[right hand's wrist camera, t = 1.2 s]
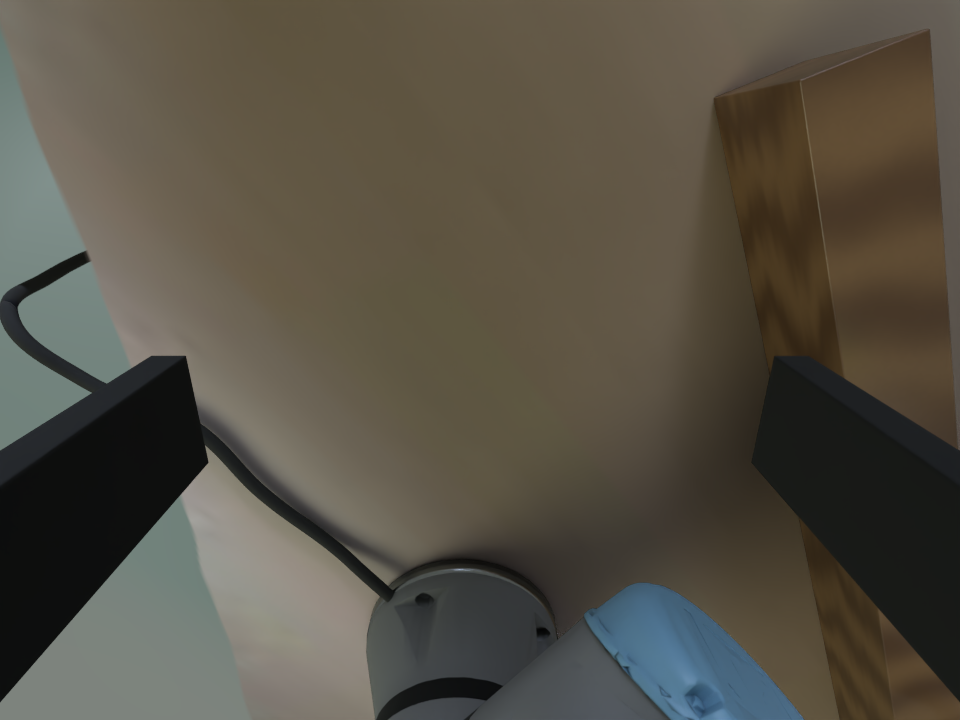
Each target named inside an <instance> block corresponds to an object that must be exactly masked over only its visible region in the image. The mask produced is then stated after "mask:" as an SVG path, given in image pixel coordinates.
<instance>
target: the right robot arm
mask: <svg viewBox="0 0 960 720" xmlns="http://www.w3.org/2000/svg"><path fill="white" fill-rule="evenodd" d="M208 463H209V462H208V458H207V453H206V448H205V444H204V439H203V434H202V430H201V425H200V420H199V416H198V411H197V406H196V401H195V397H194V392H193V387H192V383H191V378H190V373H189V369H188V364H187V359H186V356H151V357H149V358H147V359H146V360H144V361H143V362H141V363H139V364H138V365H136V366H135V367H133V368H131V369H130V370H128V371H127V372H125V373H123V374H122V375H120V376H119V377H117V378H115V379H114V380H112V381H111V382H109V383H108V384H106V385H104V386H103V387H101V388H100V389H98V390H96V391H95V392H93V393H92V394H90V395H88V396H87V397H85V398H84V399H82V400H80V401H79V402H77V403H76V404H74V405H72V406H71V407H69V408H68V409H66V410H64V411H63V412H61V413H60V414H58V415H56V416H55V417H53V418H52V419H50V420H49V421H47V422H45V423H44V424H42V425H41V426H39V427H37V428H36V429H34V430H33V431H31V432H29V433H28V434H26V435H25V436H23V437H21V438H20V439H18V440H17V441H15V442H13V443H12V444H10V445H9V446H7V447H5V448H4V449H2V450H1V451H0V702H1V701H2V699H3V698H4V697H5V696H6V695H7V694H8V693H9V692H10V690H11V689H12V688H13V687H14V686H15V685H16V683H17V682H18V681H19V680H20V679H21V678H22V677H23V675H24V674H25V673H26V672H27V671H28V670H29V668H30V667H31V666H32V665H33V664H34V663H35V662H36V660H37V659H38V658H39V657H40V656H41V655H42V654H43V652H44V651H45V650H46V649H47V648H48V647H49V645H50V644H51V643H52V642H53V641H54V640H55V639H56V637H57V636H58V635H59V634H60V633H61V632H62V631H63V629H64V628H65V627H66V626H67V625H68V624H69V622H70V621H71V620H72V619H73V618H74V617H75V616H76V614H77V613H78V612H79V611H80V610H81V609H82V608H83V606H84V605H85V604H86V603H87V602H88V601H89V599H90V598H91V597H92V596H93V595H94V594H95V592H96V591H97V590H98V589H99V588H100V587H101V586H102V585H103V583H104V582H105V581H106V580H107V579H108V578H109V576H110V575H111V574H112V573H113V572H114V571H115V570H116V568H117V567H118V566H119V565H120V564H121V563H122V561H123V560H124V559H125V558H126V557H127V556H128V555H129V553H130V552H131V551H132V550H133V549H134V548H135V547H136V545H137V544H138V543H139V542H140V541H141V540H142V538H143V537H144V536H145V535H146V534H147V533H148V532H149V530H150V529H151V528H152V527H153V526H154V525H155V524H156V522H157V521H158V520H159V519H160V518H161V517H162V515H163V514H164V513H165V512H166V511H167V510H168V509H169V507H170V506H171V505H172V504H173V503H174V502H175V500H176V499H177V498H178V497H179V496H180V495H181V494H182V492H183V491H184V490H185V489H186V488H187V487H188V486H189V484H190V483H191V482H192V481H193V480H194V479H195V477H196V476H197V475H198V474H199V473H200V472H201V471H202V469H203V468H204V467H205V466H206V465H207V464H208ZM751 463H752V464H753V465H754V466H755V467H756V468H757V469H758V471H759V472H760V473H761V474H762V475H763V476H764V477H765V479H766V480H767V481H768V482H769V483H770V484H771V486H772V487H773V488H774V489H775V490H776V491H777V492H778V494H779V495H780V496H781V497H782V498H783V499H784V500H785V502H786V503H787V504H788V505H789V506H790V507H791V509H792V510H793V511H794V512H795V513H796V514H797V515H798V517H799V518H800V519H801V520H802V521H803V522H804V524H805V525H806V526H807V527H808V528H809V529H810V530H811V532H812V533H813V534H814V535H815V536H816V537H817V538H818V540H819V541H820V542H821V543H822V544H823V545H824V547H825V548H826V549H827V550H828V551H829V552H830V553H831V555H832V556H833V557H834V558H835V559H836V560H837V561H838V563H839V564H840V565H841V566H842V567H843V568H844V570H845V571H846V572H847V573H848V574H849V575H850V576H851V578H852V579H853V580H854V581H855V582H856V583H857V584H858V586H859V587H860V588H861V589H862V590H863V591H864V593H865V594H866V595H867V596H868V597H869V598H870V599H871V601H872V602H873V603H874V604H875V605H876V606H877V608H878V609H879V610H880V611H881V612H882V613H883V614H884V616H885V617H886V618H887V619H888V620H889V621H890V622H891V624H892V625H893V626H894V627H895V628H896V629H897V631H898V632H899V633H900V634H901V635H902V636H903V637H904V639H905V640H906V641H907V642H908V643H909V644H910V645H911V647H912V648H913V649H914V650H915V651H916V652H917V654H918V655H919V656H920V657H921V658H922V659H923V660H924V662H925V663H926V664H927V665H928V666H929V667H930V669H931V670H932V671H933V672H934V673H935V674H936V675H937V677H938V678H939V679H940V680H941V681H942V682H943V683H944V685H945V686H946V687H947V688H948V689H949V690H950V692H951V693H952V694H953V695H954V696H955V697H956V698H957V700H958V701H959V702H960V451H959V450H958V449H956V448H955V447H953V446H951V445H950V444H948V443H947V442H945V441H943V440H942V439H940V438H939V437H937V436H935V435H934V434H932V433H931V432H929V431H927V430H926V429H924V428H923V427H921V426H920V425H918V424H916V423H915V422H913V421H912V420H910V419H908V418H907V417H905V416H904V415H902V414H900V413H899V412H897V411H896V410H894V409H892V408H891V407H889V406H888V405H886V404H884V403H883V402H881V401H880V400H878V399H876V398H875V397H873V396H872V395H870V394H868V393H867V392H865V391H864V390H862V389H860V388H859V387H857V386H856V385H854V384H852V383H851V382H849V381H848V380H846V379H845V378H843V377H841V376H840V375H838V374H837V373H835V372H833V371H832V370H830V369H829V368H827V367H825V366H824V365H822V364H821V363H819V362H817V361H816V360H814V359H813V358H811V357H809V356H774V359H773V364H772V369H771V373H770V378H769V383H768V387H767V392H766V397H765V401H764V406H763V411H762V416H761V420H760V425H759V430H758V434H757V439H756V444H755V448H754V453H753V458H752V462H751Z"/></svg>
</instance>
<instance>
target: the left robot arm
mask: <svg viewBox="0 0 960 720" xmlns="http://www.w3.org/2000/svg"><path fill="white" fill-rule="evenodd" d="M89 262H91V261H90V258H89V256H88V253H87V251H84V252H81V253H79V254H77V255H75V256H72V257H70V258H68V259H66V260H64V261H62V262H60V263H58V264H57V265H55V266H53V267H51V268H49V269H48V270H46V271H44V272H42V273H41V274H39V275H37V276H35V277H33V278H31V279H29V280H27V281H25V282H23V283H21V284H19V285H17V286H15V287H13V288H11V289H10V290H9V291H7V292H6V293H5V295H3V297H2V299H1V302H0V320H1V323H2V325H3V327H4V329H5V331H6V332H7V334H8V335H9V336H10V338H11V339H12V340H13V341H14V342H15V343H16V344H17V345H18V346H19V347H20V348H21V349H22V350H24V351H25V352H26V353H27V354H29V355H30V356H31V357H33V358H34V359H36V360H37V361H39V362H40V363H42V364H43V365H45V366H46V367H48V368H50V369H51V370H53V371H55V372H57V373H58V374H60V375H62V376H63V377H65V378H67V379H69V380H70V381H72V382H74V383H76V384H77V385H79V386H81V387H83V388H84V389H86V390H88V391H90V392H92V393H93V392H95V391H96V390H98V389H100V388H101V387H103V386H104V385H106V383H104V382H102V381H100V380H98V379H96V378H95V377H93V376H91V375H89V374H88V373H86V372H84V371H83V370H81V369H79V368H78V367H76V366H74V365H72V364H71V363H69V362H67V361H66V360H64V359H62V358H61V357H59V356H57V355H56V354H54V353H53V352H51V351H50V350H48V349H47V348H45V347H44V346H43V345H41V344H40V343H39V342H38V341H37V340H35V339H34V338H33V337H32V336H31V335H30V334H29V333H28V331H27V330H26V329H25V327H24V326H23V324H22V322H21V320H20V318H19V314H18V306H19V304H20V303H21V301H22V300H24V299H25V298H26V297H28V296H29V295H31V294H33V293H35V292H37V291H39V290H41V289H43V288H45V287H47V286H48V285H50V284H52V283H53V282H55V281H57V280H58V279H60V278H61V277H63V276H65V275H66V274H68V273H69V272H71V271H73V270H75V269H77V268H79V267H81V266H83V265H85V264H86V263H89ZM200 425H201V430H202V434H203V439H204V444H205V445H206V446H207V447H208V448H209V449H210V450H211V451H212V452H213V453H214V454H215V455H216V456H217V457H218V458H219V459H220V460H221V461H222V462H223V463H224V464H225V465H226V466H227V467H228V469H229V470H230V471H231V472H232V473H233V474H234V475H235V476H236V477H237V478H238V480H239V481H240V482H241V483H242V484H243V485H244V486H245V487H246V488H247V489H248V490H249V491H250V492H252V493H253V494H254V495H255V496H256V497H257V498H258V499H259V500H261V501H262V502H263V503H264V504H266V505H267V506H268V507H269V508H271V509H272V510H273V511H275V512H276V513H277V514H279V515H280V516H281V517H283V518H284V519H285V520H287V521H288V522H290V523H291V524H292V525H294V526H295V527H297V528H298V529H300V530H301V531H303V532H304V533H305V534H307V535H308V536H310V537H311V538H312V539H314V540H315V541H317V542H318V543H319V544H321V545H322V546H323V547H324V548H326V549H327V550H328V551H330V552H331V553H332V554H333V555H334V556H336V557H337V558H338V559H339V560H340V561H341V562H343V563H344V564H345V565H346V566H347V567H348V568H349V569H350V570H351V571H352V572H353V573H354V574H355V575H357V576H358V577H359V578H360V579H361V580H362V581H363V582H364V583H365V584H367V585H368V586H369V587H370V588H371V589H372V590H373V591H375V592H376V593H377V594H378V595H379V596H380V597H379V599H378V601H377V602H376V604H375V607H374V609H373V612H372V615H371V619H370V624H369V628H368V633H367V649H366V653H367V662H368V670H369V677H370V684H371V692H372V699H373V706H374V714H375V720H804V719H803V717H802V716H801V715H800V713H799V712H798V711H797V710H796V708H795V707H794V706H793V705H792V703H791V702H790V701H789V700H788V699H787V697H786V696H785V695H784V694H783V693H782V691H781V690H780V689H779V688H778V687H777V685H776V684H775V683H774V682H773V681H772V680H771V679H770V677H769V676H768V675H767V674H766V673H765V672H764V671H763V670H762V668H761V667H760V666H759V665H758V664H757V663H756V662H755V661H754V660H753V659H752V658H751V657H750V656H749V655H748V654H747V652H746V651H745V650H744V649H743V648H742V647H741V646H740V645H739V644H738V643H737V642H736V641H735V640H734V639H733V638H732V637H731V636H730V635H729V634H728V633H726V632H725V631H724V630H723V629H722V628H721V627H720V626H719V625H718V624H717V623H716V622H714V621H713V620H712V619H711V618H710V617H709V616H708V615H707V614H705V613H704V612H703V611H702V610H700V609H699V608H698V607H697V606H695V605H694V604H693V603H691V602H690V601H688V600H687V599H686V598H684V597H683V596H681V595H680V594H678V593H676V592H675V591H673V590H671V589H668V588H666V587H664V586H661V585H654V584H651V583H635V584H632V585H629V586H627V587H626V588H624V589H623V590H621V591H620V592H619V593H617V594H616V595H615V596H613V597H612V598H611V599H609V600H608V601H607V602H605V603H604V604H603V605H601V606H600V607H599V608H597V609H596V608H592V609H589V610H588V611H587V612H586V613H585V614H584V617H583V618H582V619H581V620H580V621H579V622H578V623H576V624H575V625H574V626H573V627H572V628H571V629H569V630H568V631H567V632H566V633H565V634H564V635H562V636H561V637H560V638H559V639H558V637H557V630H556V624H555V618H554V614H553V611H552V609H551V607H550V604H549V603H548V601H547V599H546V598H545V596H544V595H543V594H542V593H541V591H540V590H539V589H538V588H537V587H536V586H535V585H534V584H532V583H531V582H530V581H529V580H527V579H526V578H524V577H523V576H521V575H520V574H518V573H516V572H514V571H512V570H510V569H508V568H505V567H502V566H499V565H496V564H493V563H489V562H483V561H477V560H447V561H440V562H435V563H431V564H427V565H424V566H421V567H419V568H416V569H414V570H412V571H410V572H408V573H406V574H404V575H403V576H401V577H400V578H398V579H397V580H396V581H394V582H393V583H392V584H391V585H390V586H389V587H388V586H387V585H386V584H385V583H384V582H383V581H382V580H380V579H379V578H378V577H377V576H376V575H375V574H374V573H373V572H371V571H370V570H369V569H368V568H367V567H366V566H365V565H364V564H363V563H362V562H360V561H359V560H358V559H357V558H356V557H355V556H354V555H353V554H352V553H351V552H350V551H349V550H347V549H346V548H345V547H344V546H343V545H342V544H340V543H339V542H338V541H337V540H335V539H334V538H333V537H332V536H330V535H329V534H328V533H326V532H325V531H324V530H322V529H321V528H320V527H318V526H317V525H316V524H314V523H313V522H311V521H310V520H309V519H307V518H306V517H304V516H303V515H301V514H300V513H299V512H297V511H296V510H294V509H293V508H292V507H290V506H289V505H288V504H286V503H285V502H284V501H282V500H281V499H280V498H279V497H277V496H276V495H275V494H274V493H272V492H271V491H270V490H269V489H268V488H267V487H265V486H264V485H263V484H262V483H261V482H260V481H259V480H258V479H257V478H256V477H255V476H254V475H253V474H252V473H251V472H250V471H249V470H248V469H247V468H246V467H245V465H244V464H243V463H242V462H241V461H240V460H239V459H238V458H237V456H236V455H235V454H234V453H233V452H232V451H231V450H230V449H229V448H228V447H227V446H226V445H225V444H224V443H223V442H222V441H221V440H220V439H219V438H218V437H217V436H216V435H215V434H213V433H212V432H211V431H210V430H209V429H207V428H206V427H205V426H203V425H202V424H200Z"/></svg>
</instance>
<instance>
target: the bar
mask: <svg viewBox="0 0 960 720" xmlns="http://www.w3.org/2000/svg"><path fill="white" fill-rule="evenodd" d="M714 103H715V108H716V113H717V118H718V123H719V128H720V133H721V138H722V142H723V147H724V152H725V157H726V162H727V167H728V172H729V177H730V182H731V187H732V192H733V196H734V201H735V206H736V211H737V216H738V221H739V226H740V231H741V236H742V241H743V246H744V250H745V255H746V260H747V265H748V270H749V275H750V280H751V285H752V290H753V295H754V300H755V305H756V309H757V314H758V319H759V324H760V329H761V334H762V339H763V344H764V349H765V354H766V359H767V363H768V368H769V373H771V369H772V364H773V359H774V356H809V357H811V358H813V359H814V360H816V361H817V362H819V363H821V364H822V365H824V366H825V367H827V368H829V369H830V370H832V371H833V372H835V373H837V374H838V375H840V376H841V377H843V378H845V379H846V380H848V381H849V382H851V383H852V384H854V385H856V386H857V387H859V388H860V389H862V390H864V391H865V392H867V393H868V394H870V395H872V396H873V397H875V398H876V399H878V400H880V401H881V402H883V403H884V404H886V405H888V406H889V407H891V408H892V409H894V410H896V411H897V412H899V413H900V414H902V415H904V416H905V417H907V418H908V419H910V420H912V421H913V422H915V423H916V424H918V425H920V426H921V427H923V428H924V429H926V430H927V431H929V432H931V433H932V434H934V435H935V436H937V437H939V438H940V439H942V440H943V441H945V442H947V443H948V444H950V445H951V446H953V447H955V448H956V449H958V442H957V427H956V412H955V397H954V382H953V367H952V352H951V338H950V323H949V308H948V293H947V278H946V263H945V248H944V233H943V218H942V203H941V189H940V174H939V159H938V144H937V129H936V114H935V99H934V84H933V69H932V54H931V40H930V30H929V29H925V30H921V31H917V32H913V33H909V34H906V35H902V36H898V37H894V38H890V39H887V40H883V41H879V42H875V43H872V44H868V45H864V46H860V47H856V48H853V49H849V50H845V51H841V52H838V53H834V54H830V55H826V56H822V57H819V58H815V59H811V60H807V61H804V62H801V63H799V64H797V65H794V66H792V67H789V68H787V69H784V70H782V71H779V72H777V73H774V74H772V75H769V76H767V77H764V78H762V79H759V80H757V81H754V82H752V83H749V84H747V85H744V86H742V87H739V88H737V89H734V90H732V91H730V92H727V93H725V94H722V95H720V96H717V97H715V98H714ZM799 521H800V526H801V531H802V535H803V540H804V545H805V550H806V555H807V560H808V565H809V570H810V575H811V580H812V585H813V589H814V594H815V599H816V604H817V609H818V614H819V619H820V624H821V629H822V634H823V639H824V643H825V648H826V653H827V658H828V663H829V668H830V673H831V678H832V683H833V688H834V693H835V698H836V702H837V707H838V712H839V717H840V720H960V702H959V701H958V700H957V698H956V697H955V696H954V695H953V694H952V693H951V692H950V690H949V689H948V688H947V687H946V686H945V685H944V683H943V682H942V681H941V680H940V679H939V678H938V677H937V675H936V674H935V673H934V672H933V671H932V670H931V669H930V667H929V666H928V665H927V664H926V663H925V662H924V660H923V659H922V658H921V657H920V656H919V655H918V654H917V652H916V651H915V650H914V649H913V648H912V647H911V645H910V644H909V643H908V642H907V641H906V640H905V639H904V637H903V636H902V635H901V634H900V633H899V632H898V631H897V629H896V628H895V627H894V626H893V625H892V624H891V622H890V621H889V620H888V619H887V618H886V617H885V616H884V614H883V613H882V612H881V611H880V610H879V609H878V608H877V606H876V605H875V604H874V603H873V602H872V601H871V599H870V598H869V597H868V596H867V595H866V594H865V593H864V591H863V590H862V589H861V588H860V587H859V586H858V584H857V583H856V582H855V581H854V580H853V579H852V578H851V576H850V575H849V574H848V573H847V572H846V571H845V570H844V568H843V567H842V566H841V565H840V564H839V563H838V561H837V560H836V559H835V558H834V557H833V556H832V555H831V553H830V552H829V551H828V550H827V549H826V548H825V547H824V545H823V544H822V543H821V542H820V541H819V540H818V538H817V537H816V536H815V535H814V534H813V533H812V532H811V530H810V529H809V528H808V527H807V526H806V525H805V524H804V522H803V521H802V520H801V519H800V518H799Z"/></svg>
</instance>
